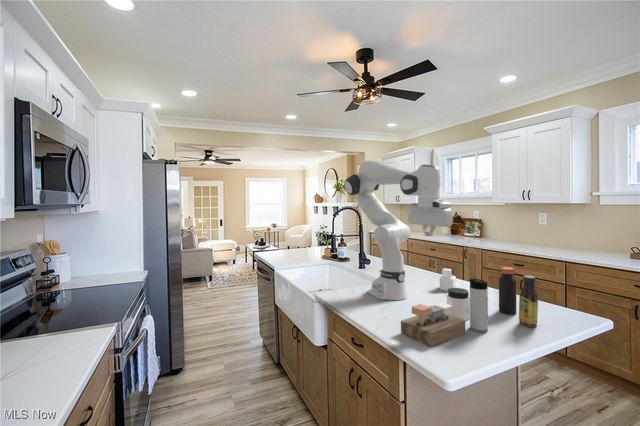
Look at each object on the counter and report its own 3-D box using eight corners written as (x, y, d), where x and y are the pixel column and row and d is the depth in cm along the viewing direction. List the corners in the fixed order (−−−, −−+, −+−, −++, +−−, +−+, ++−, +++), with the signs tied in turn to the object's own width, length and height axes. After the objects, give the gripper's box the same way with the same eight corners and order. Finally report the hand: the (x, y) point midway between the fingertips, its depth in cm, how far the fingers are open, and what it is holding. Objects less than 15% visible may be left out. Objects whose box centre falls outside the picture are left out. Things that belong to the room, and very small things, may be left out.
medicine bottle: (443, 287, 184) (442, 266, 184) (456, 288, 180) (455, 267, 179) (439, 290, 178) (439, 268, 178) (453, 291, 174) (452, 270, 174)
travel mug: (465, 326, 126) (465, 277, 126) (481, 326, 127) (481, 276, 126) (474, 333, 120) (474, 281, 119) (491, 332, 121) (491, 280, 120)
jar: (460, 323, 130) (460, 294, 130) (443, 317, 137) (443, 290, 137) (473, 318, 135) (473, 290, 135) (455, 312, 142) (455, 286, 142)
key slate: (423, 327, 122) (423, 308, 122) (431, 324, 125) (431, 305, 124) (434, 331, 118) (434, 311, 117) (442, 328, 120) (442, 309, 120)
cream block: (434, 323, 125) (434, 304, 125) (442, 320, 128) (442, 302, 128) (445, 327, 121) (445, 308, 121) (453, 324, 124) (453, 305, 124)
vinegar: (500, 314, 139) (500, 269, 138) (497, 309, 146) (497, 266, 145) (518, 315, 137) (518, 270, 136) (514, 310, 143) (514, 267, 142)
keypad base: (401, 333, 122) (400, 320, 121) (434, 321, 132) (434, 310, 132) (431, 347, 110) (431, 333, 110) (465, 333, 121) (465, 320, 120)
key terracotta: (411, 326, 118) (411, 306, 118) (420, 323, 121) (420, 304, 121) (422, 330, 114) (422, 310, 114) (431, 327, 117) (431, 307, 116)
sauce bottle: (515, 322, 130) (515, 274, 129) (530, 321, 130) (531, 274, 129) (525, 328, 124) (525, 278, 123) (541, 328, 123) (541, 278, 123)
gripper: (404, 203, 139) (404, 234, 140) (445, 203, 122) (444, 239, 123) (414, 202, 143) (414, 233, 144) (455, 203, 126) (454, 238, 126)
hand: (428, 236), depth 133 cm, fingers closed
